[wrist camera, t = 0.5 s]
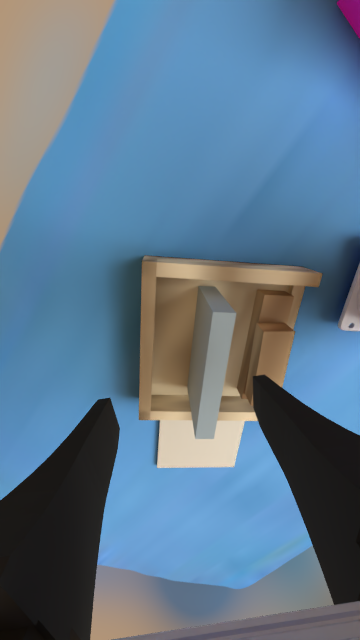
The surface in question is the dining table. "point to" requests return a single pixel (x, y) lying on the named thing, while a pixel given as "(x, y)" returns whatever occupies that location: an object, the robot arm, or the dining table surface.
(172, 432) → the mat
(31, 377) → the dining table surface
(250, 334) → the offcut lower
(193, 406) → the sheet
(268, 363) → the offcut upper
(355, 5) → the toy block
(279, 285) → the wooden tray
